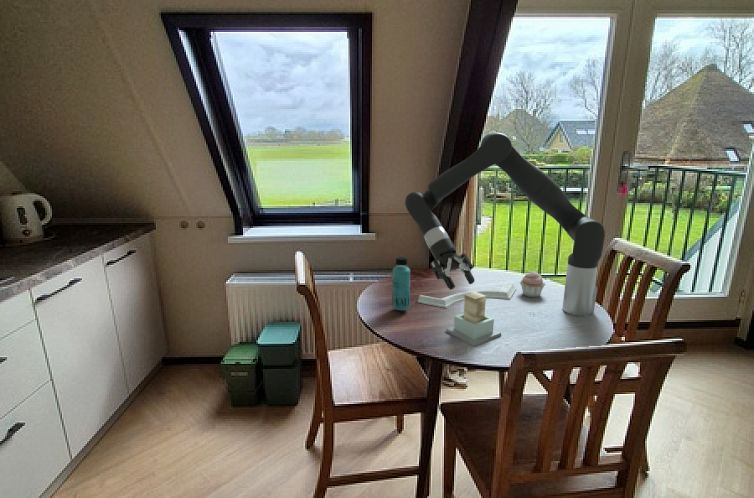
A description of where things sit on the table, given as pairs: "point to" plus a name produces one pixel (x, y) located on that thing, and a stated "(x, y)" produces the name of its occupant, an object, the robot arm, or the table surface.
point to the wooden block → (474, 307)
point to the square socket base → (473, 330)
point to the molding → (452, 299)
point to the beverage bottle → (401, 285)
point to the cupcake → (532, 284)
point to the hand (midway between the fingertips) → (462, 285)
